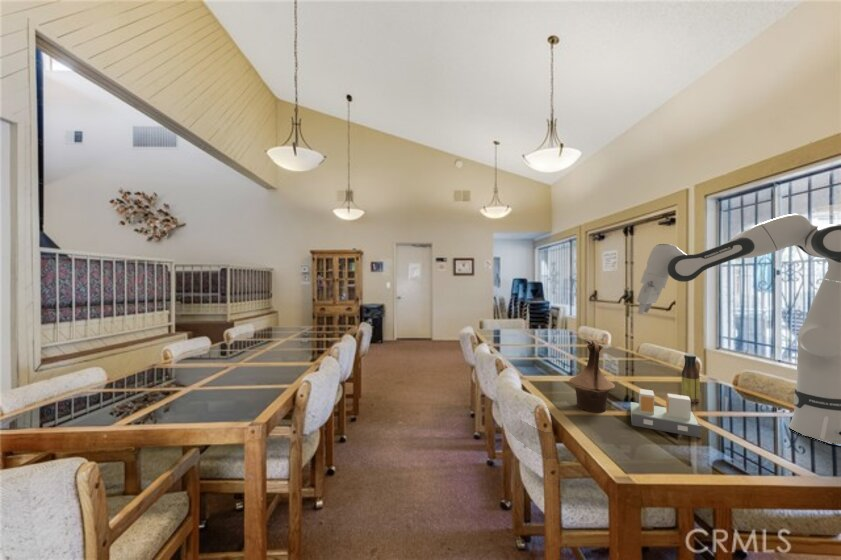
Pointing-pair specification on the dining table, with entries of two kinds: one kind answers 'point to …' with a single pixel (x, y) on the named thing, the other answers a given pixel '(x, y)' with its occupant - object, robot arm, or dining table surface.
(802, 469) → the dining table surface
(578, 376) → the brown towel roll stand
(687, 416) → the turned carton
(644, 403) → the faced carton
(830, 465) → the dining table surface
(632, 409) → the shelf
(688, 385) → the sauce bottle
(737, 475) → the dining table surface
